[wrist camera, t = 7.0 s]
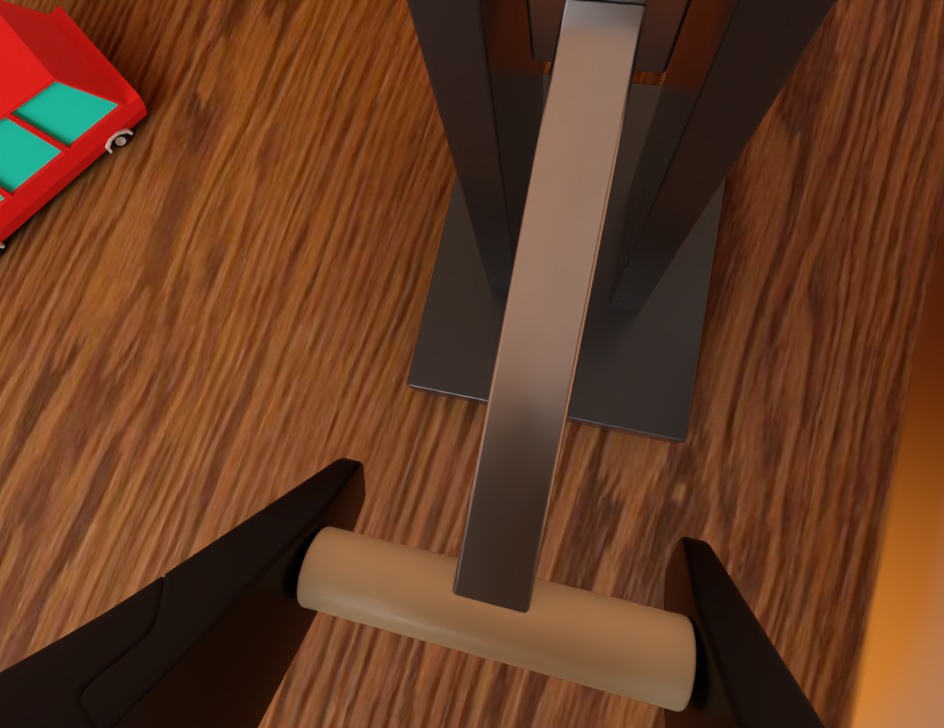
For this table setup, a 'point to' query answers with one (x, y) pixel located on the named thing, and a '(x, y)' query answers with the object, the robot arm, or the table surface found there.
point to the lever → (534, 407)
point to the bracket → (629, 209)
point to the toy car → (53, 109)
